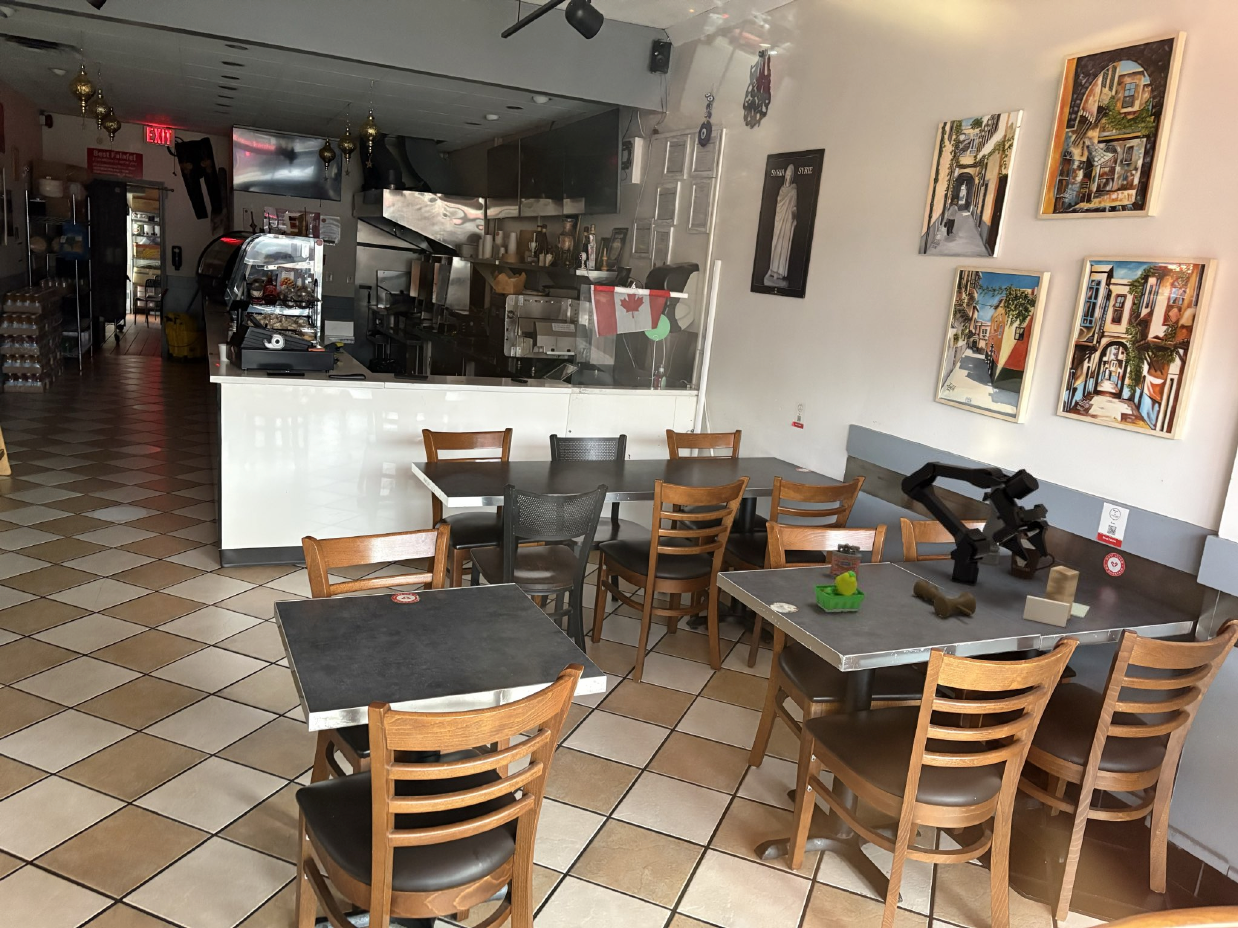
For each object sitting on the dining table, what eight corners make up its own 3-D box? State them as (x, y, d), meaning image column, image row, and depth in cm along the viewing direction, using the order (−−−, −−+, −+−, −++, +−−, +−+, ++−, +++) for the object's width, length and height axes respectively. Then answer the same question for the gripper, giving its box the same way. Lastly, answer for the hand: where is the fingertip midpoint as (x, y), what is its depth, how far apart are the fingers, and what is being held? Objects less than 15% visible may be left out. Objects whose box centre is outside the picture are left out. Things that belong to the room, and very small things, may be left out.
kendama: (932, 595, 247) (985, 623, 229) (903, 599, 243) (955, 627, 225) (935, 575, 245) (988, 601, 227) (906, 578, 242) (958, 604, 224)
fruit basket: (848, 601, 236) (854, 561, 233) (867, 615, 227) (873, 573, 225) (810, 603, 232) (815, 562, 229) (827, 617, 224) (833, 574, 221)
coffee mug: (999, 571, 270) (1005, 540, 268) (1020, 569, 274) (1026, 538, 272) (1031, 585, 260) (1038, 553, 258) (1052, 583, 264) (1058, 551, 261)
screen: (1023, 618, 234) (1027, 596, 233) (1023, 616, 235) (1027, 595, 234) (1065, 627, 230) (1069, 605, 229) (1064, 625, 231) (1069, 603, 230)
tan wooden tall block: (1041, 614, 238) (1050, 568, 235) (1051, 611, 241) (1061, 565, 238) (1059, 621, 234) (1068, 574, 231) (1069, 618, 237) (1079, 572, 234)
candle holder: (999, 565, 276) (1014, 487, 270) (978, 563, 277) (993, 485, 271) (995, 559, 282) (1010, 483, 276) (975, 556, 283) (989, 480, 277)
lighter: (828, 577, 253) (833, 543, 251) (829, 573, 256) (834, 540, 254) (857, 582, 251) (862, 548, 248) (858, 578, 254) (863, 545, 252)
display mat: (1042, 607, 243) (1043, 605, 243) (1050, 597, 251) (1050, 596, 251) (1083, 618, 238) (1083, 616, 237) (1089, 608, 246) (1089, 606, 245)
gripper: (1010, 496, 236) (1041, 549, 229) (1049, 490, 246) (1080, 541, 240) (978, 516, 244) (1008, 568, 237) (1017, 510, 254) (1047, 559, 248)
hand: (1037, 558), depth 241 cm, fingers open, 9 cm apart
